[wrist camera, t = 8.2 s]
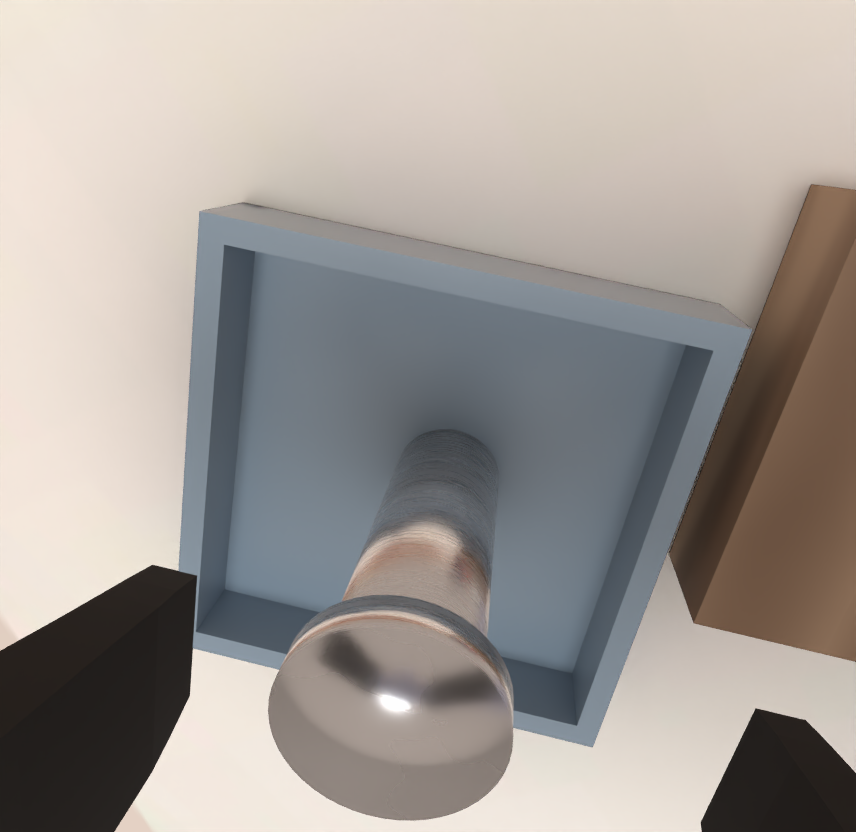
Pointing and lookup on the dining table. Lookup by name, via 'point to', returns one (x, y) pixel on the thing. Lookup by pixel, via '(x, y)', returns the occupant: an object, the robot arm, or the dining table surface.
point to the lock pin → (407, 651)
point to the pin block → (786, 457)
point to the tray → (431, 410)
